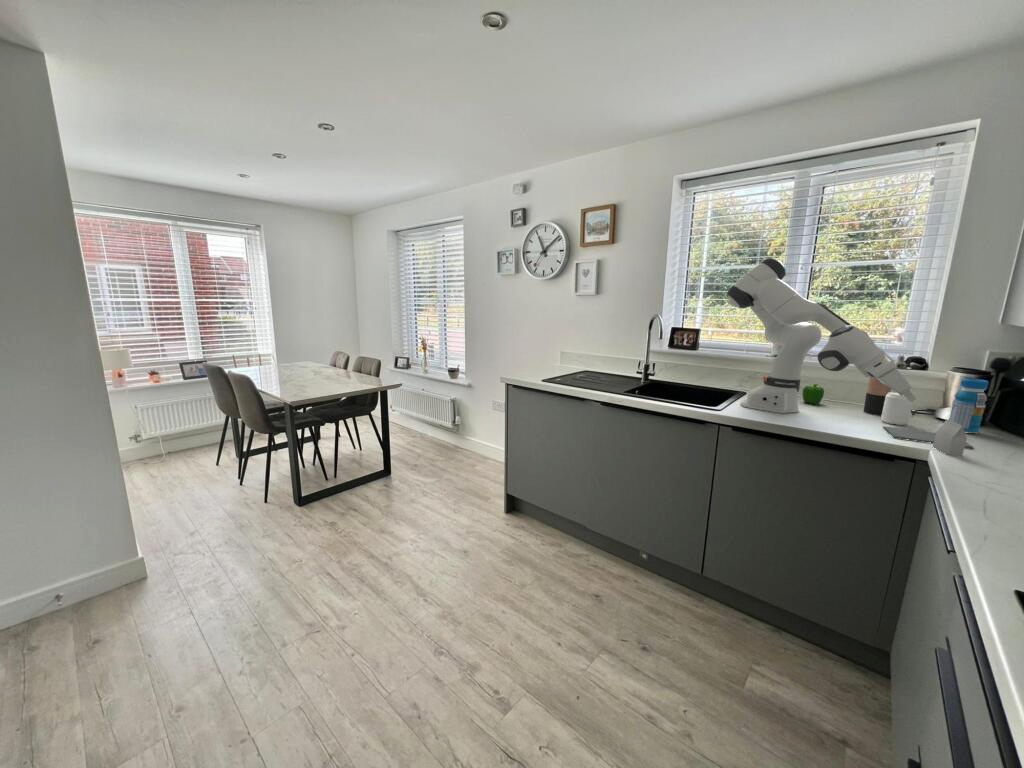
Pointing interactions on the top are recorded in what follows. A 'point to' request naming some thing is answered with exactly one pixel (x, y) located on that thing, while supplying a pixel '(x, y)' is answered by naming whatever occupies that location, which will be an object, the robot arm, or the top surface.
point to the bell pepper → (813, 394)
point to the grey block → (950, 439)
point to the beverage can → (896, 409)
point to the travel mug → (875, 396)
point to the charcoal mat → (915, 435)
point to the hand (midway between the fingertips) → (908, 397)
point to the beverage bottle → (969, 404)
